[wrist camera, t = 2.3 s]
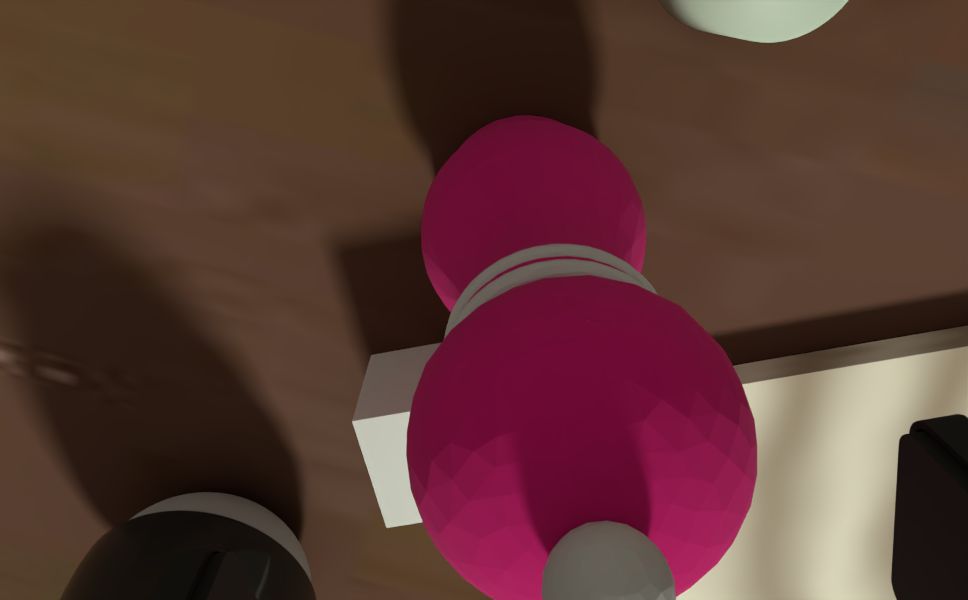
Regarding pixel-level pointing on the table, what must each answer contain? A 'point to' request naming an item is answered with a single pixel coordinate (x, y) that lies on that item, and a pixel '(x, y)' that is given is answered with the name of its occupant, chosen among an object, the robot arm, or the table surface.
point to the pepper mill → (567, 384)
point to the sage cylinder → (754, 17)
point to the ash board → (833, 465)
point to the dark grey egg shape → (189, 523)
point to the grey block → (390, 428)
